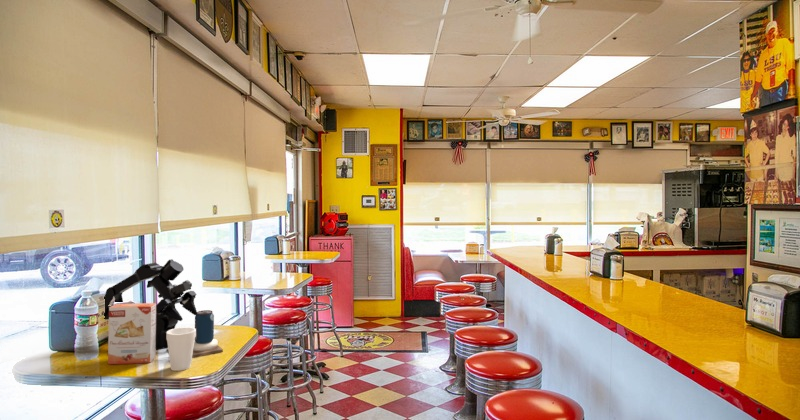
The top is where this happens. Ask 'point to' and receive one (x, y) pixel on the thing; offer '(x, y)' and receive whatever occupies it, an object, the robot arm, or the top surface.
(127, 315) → the cracker box
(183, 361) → the foam cup
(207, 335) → the soda can
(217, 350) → the plinth board
